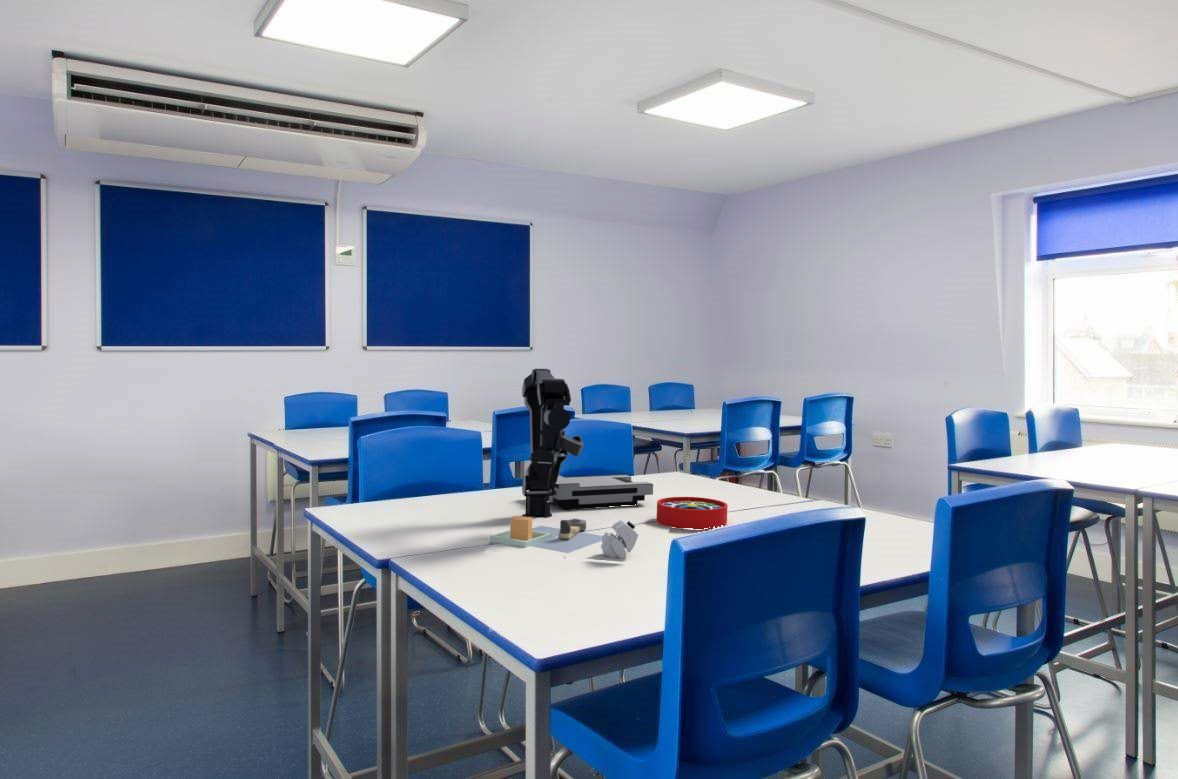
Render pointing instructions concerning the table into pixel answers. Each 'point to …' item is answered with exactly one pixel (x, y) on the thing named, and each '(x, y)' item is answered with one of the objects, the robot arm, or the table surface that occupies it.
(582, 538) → the crank base
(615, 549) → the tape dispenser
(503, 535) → the tray
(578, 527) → the crank
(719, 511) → the toy clock
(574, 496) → the office tray
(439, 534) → the table surface
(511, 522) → the block
